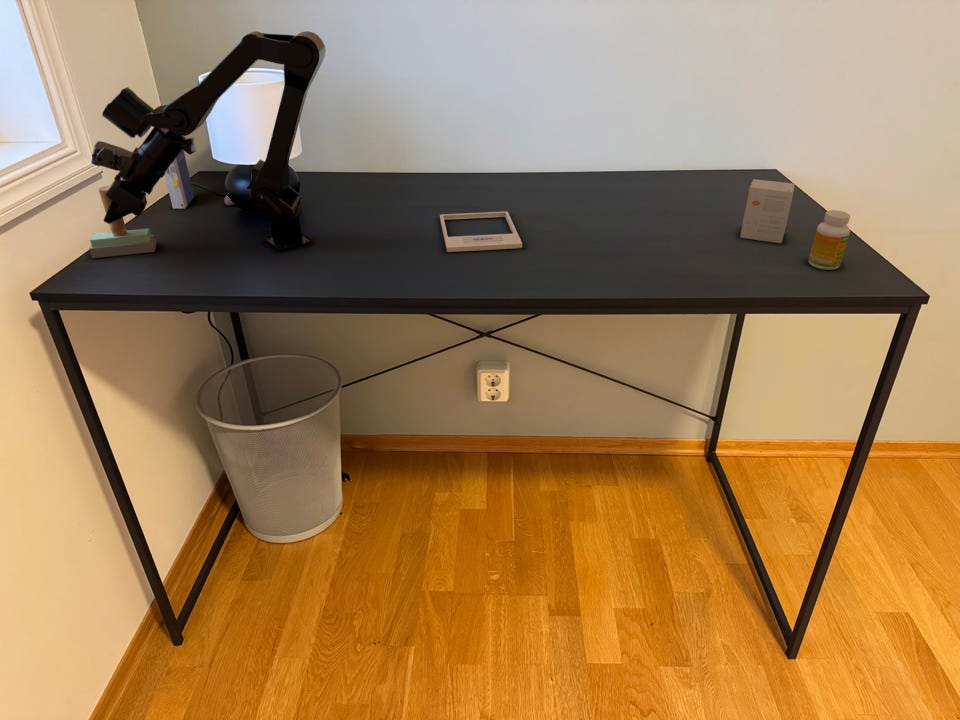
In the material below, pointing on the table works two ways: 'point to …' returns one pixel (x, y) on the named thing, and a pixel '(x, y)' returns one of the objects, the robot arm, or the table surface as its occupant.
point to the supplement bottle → (830, 241)
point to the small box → (767, 210)
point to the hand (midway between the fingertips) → (107, 219)
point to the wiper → (120, 237)
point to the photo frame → (480, 240)
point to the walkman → (179, 182)
